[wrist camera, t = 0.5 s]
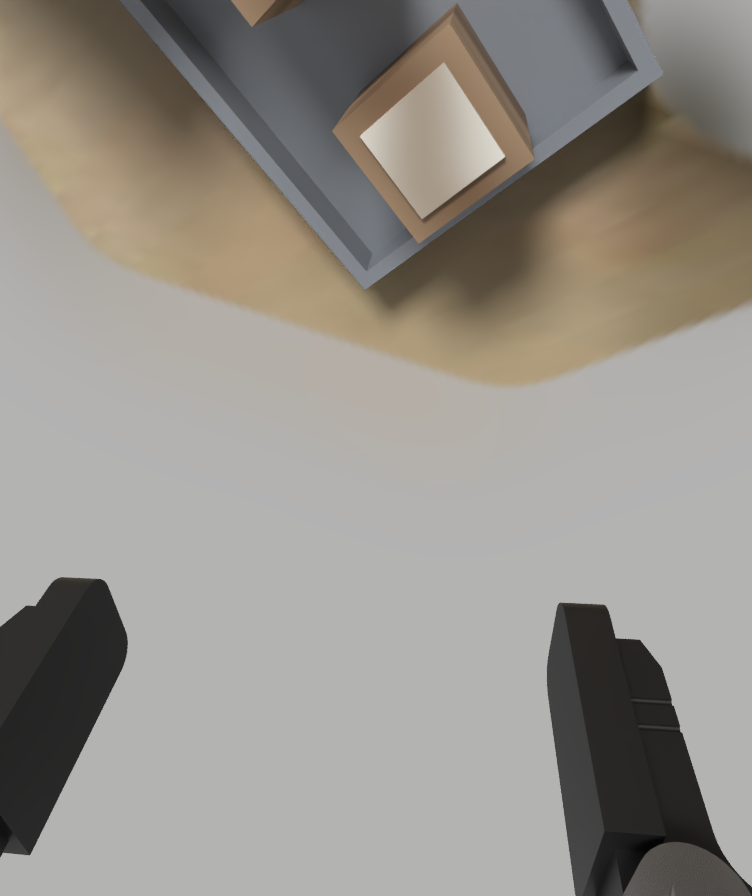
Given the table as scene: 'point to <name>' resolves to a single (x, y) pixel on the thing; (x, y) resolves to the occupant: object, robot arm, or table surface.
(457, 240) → the table surface
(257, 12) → the plain block
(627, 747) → the robot arm
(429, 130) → the labelled block
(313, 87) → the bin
